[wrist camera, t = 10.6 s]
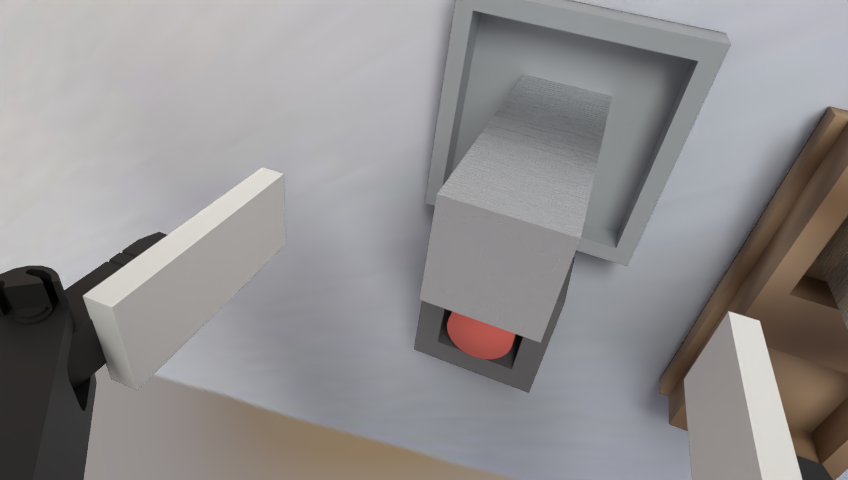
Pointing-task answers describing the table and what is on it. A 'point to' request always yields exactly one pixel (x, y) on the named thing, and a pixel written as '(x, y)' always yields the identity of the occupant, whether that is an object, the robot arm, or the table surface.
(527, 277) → the block
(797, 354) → the wooden tray
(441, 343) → the button housing
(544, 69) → the tray
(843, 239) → the billet
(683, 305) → the table surface
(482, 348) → the button
